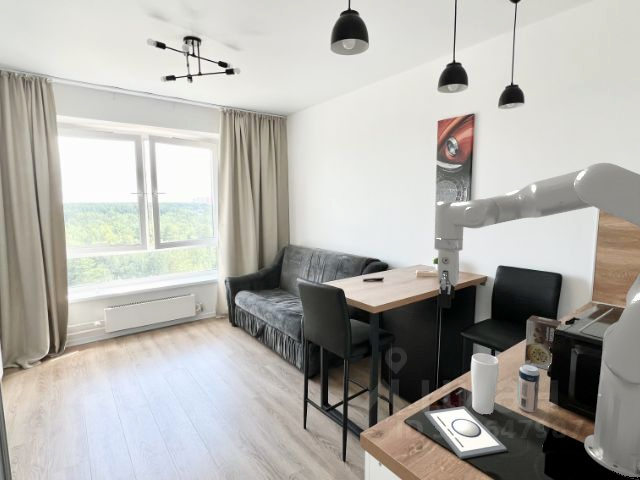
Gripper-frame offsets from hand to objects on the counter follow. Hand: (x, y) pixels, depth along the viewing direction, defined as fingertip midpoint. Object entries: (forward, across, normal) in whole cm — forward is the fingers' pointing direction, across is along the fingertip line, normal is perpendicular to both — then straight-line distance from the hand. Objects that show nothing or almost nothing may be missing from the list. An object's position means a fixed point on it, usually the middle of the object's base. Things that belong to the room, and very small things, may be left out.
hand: (446, 302), depth 100 cm
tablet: (+28, -15, -6) cm, 33 cm away
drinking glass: (+28, -4, -11) cm, 31 cm away
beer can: (+28, +2, -22) cm, 36 cm away
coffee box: (+28, +33, -28) cm, 52 cm away
